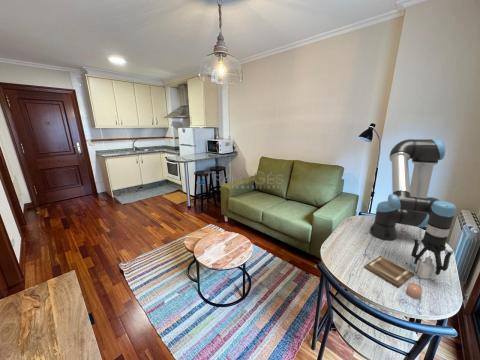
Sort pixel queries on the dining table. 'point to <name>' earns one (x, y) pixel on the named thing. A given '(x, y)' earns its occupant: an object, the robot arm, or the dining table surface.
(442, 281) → the dining table surface
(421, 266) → the eye dropper bottle
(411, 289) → the egg
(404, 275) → the board
